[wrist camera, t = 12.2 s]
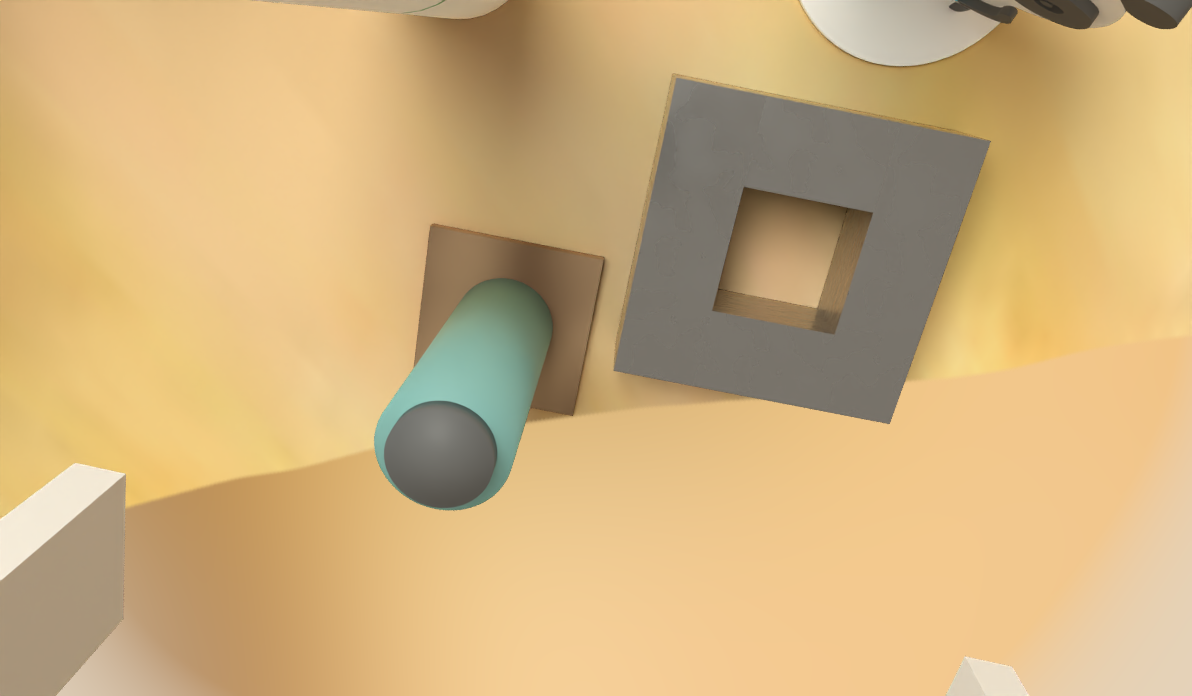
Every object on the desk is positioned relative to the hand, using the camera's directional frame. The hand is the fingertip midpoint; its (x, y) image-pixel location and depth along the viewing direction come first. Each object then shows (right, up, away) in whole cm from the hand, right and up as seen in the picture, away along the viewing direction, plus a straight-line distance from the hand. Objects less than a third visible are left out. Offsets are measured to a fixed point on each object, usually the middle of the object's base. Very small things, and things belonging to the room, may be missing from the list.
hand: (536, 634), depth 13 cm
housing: (+10, +10, +29) cm, 32 cm away
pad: (-4, +6, +31) cm, 32 cm away
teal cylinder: (-4, +6, +31) cm, 31 cm away
